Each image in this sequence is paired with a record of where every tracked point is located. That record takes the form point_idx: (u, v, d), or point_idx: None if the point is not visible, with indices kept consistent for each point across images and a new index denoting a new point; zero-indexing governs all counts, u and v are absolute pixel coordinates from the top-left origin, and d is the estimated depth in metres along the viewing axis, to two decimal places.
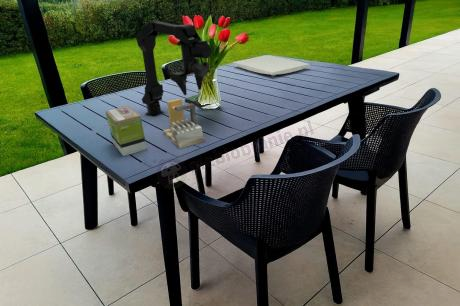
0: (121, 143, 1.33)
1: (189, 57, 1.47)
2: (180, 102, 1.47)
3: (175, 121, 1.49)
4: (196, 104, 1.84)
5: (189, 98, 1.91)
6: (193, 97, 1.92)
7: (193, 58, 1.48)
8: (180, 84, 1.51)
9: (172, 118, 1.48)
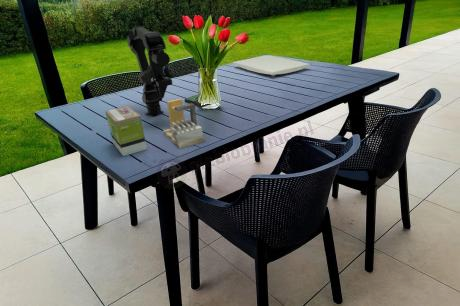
0: (121, 143, 1.33)
1: None
2: (180, 102, 1.47)
3: (175, 121, 1.49)
4: (196, 104, 1.84)
5: (189, 98, 1.91)
6: (193, 97, 1.92)
7: None
8: None
9: (172, 118, 1.48)
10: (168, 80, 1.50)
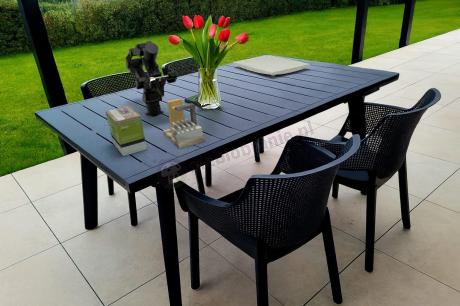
0: (121, 143, 1.33)
1: None
2: (180, 102, 1.47)
3: (175, 121, 1.49)
4: (196, 104, 1.84)
5: (189, 98, 1.90)
6: (193, 97, 1.92)
7: None
8: None
9: (172, 118, 1.48)
10: (136, 80, 1.55)
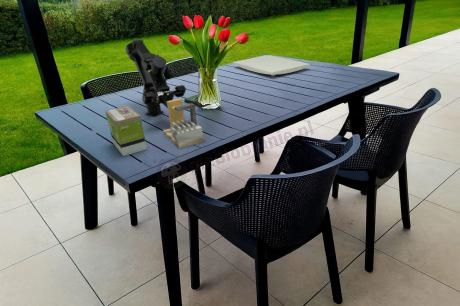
0: (121, 143, 1.33)
1: None
2: (180, 102, 1.47)
3: (175, 121, 1.49)
4: (196, 104, 1.84)
5: (189, 98, 1.90)
6: (192, 97, 1.91)
7: None
8: None
9: (172, 118, 1.48)
10: (143, 95, 1.51)
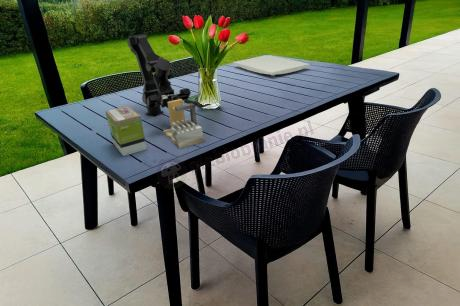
0: (121, 143, 1.33)
1: None
2: (181, 102, 1.47)
3: (176, 121, 1.49)
4: (197, 104, 1.84)
5: None
6: (192, 97, 1.91)
7: None
8: None
9: (173, 118, 1.47)
10: (147, 98, 1.47)
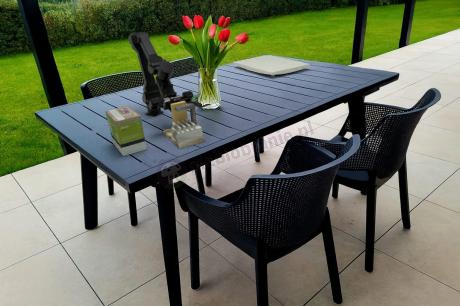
0: (121, 143, 1.33)
1: None
2: None
3: None
4: (197, 104, 1.83)
5: None
6: None
7: None
8: None
9: (176, 121, 1.45)
10: (149, 101, 1.45)
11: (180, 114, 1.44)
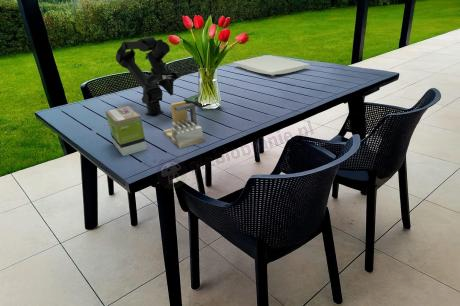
0: (121, 143, 1.33)
1: None
2: None
3: None
4: (197, 104, 1.83)
5: (188, 99, 1.90)
6: (192, 98, 1.91)
7: None
8: None
9: (176, 121, 1.45)
10: (151, 76, 1.52)
11: (180, 114, 1.44)
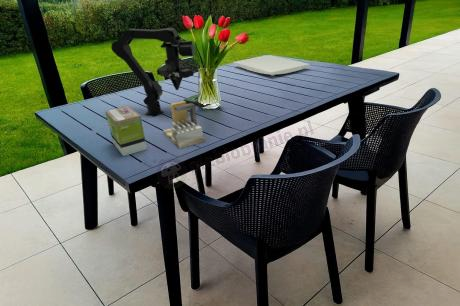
0: (121, 143, 1.33)
1: None
2: None
3: None
4: (197, 104, 1.83)
5: (188, 99, 1.89)
6: (192, 98, 1.91)
7: (168, 59, 1.62)
8: None
9: (176, 121, 1.45)
10: (191, 71, 1.62)
11: (180, 114, 1.44)
